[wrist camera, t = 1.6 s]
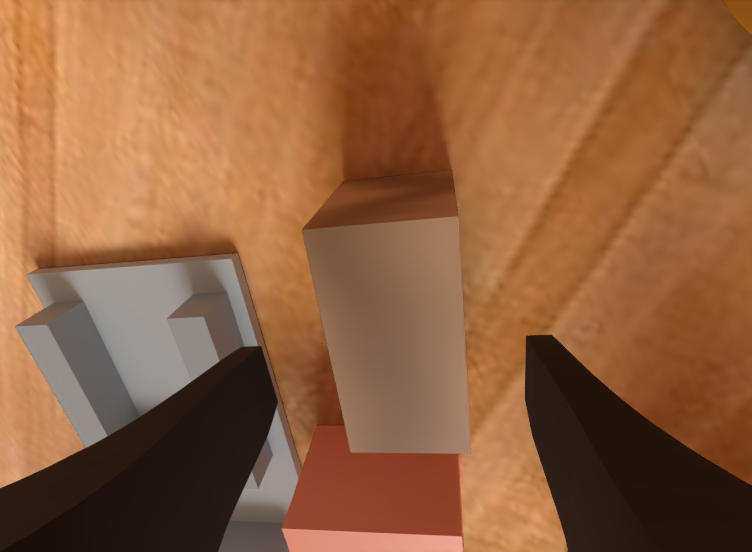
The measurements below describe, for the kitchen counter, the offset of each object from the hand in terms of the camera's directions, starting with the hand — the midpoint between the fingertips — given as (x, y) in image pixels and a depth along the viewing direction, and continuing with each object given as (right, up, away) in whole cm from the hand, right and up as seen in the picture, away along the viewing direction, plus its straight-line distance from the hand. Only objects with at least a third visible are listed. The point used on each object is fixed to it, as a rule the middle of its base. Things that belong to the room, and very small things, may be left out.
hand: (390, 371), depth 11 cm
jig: (-10, -5, +11) cm, 16 cm away
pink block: (0, -6, +10) cm, 12 cm away
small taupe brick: (+1, +3, +6) cm, 6 cm away
